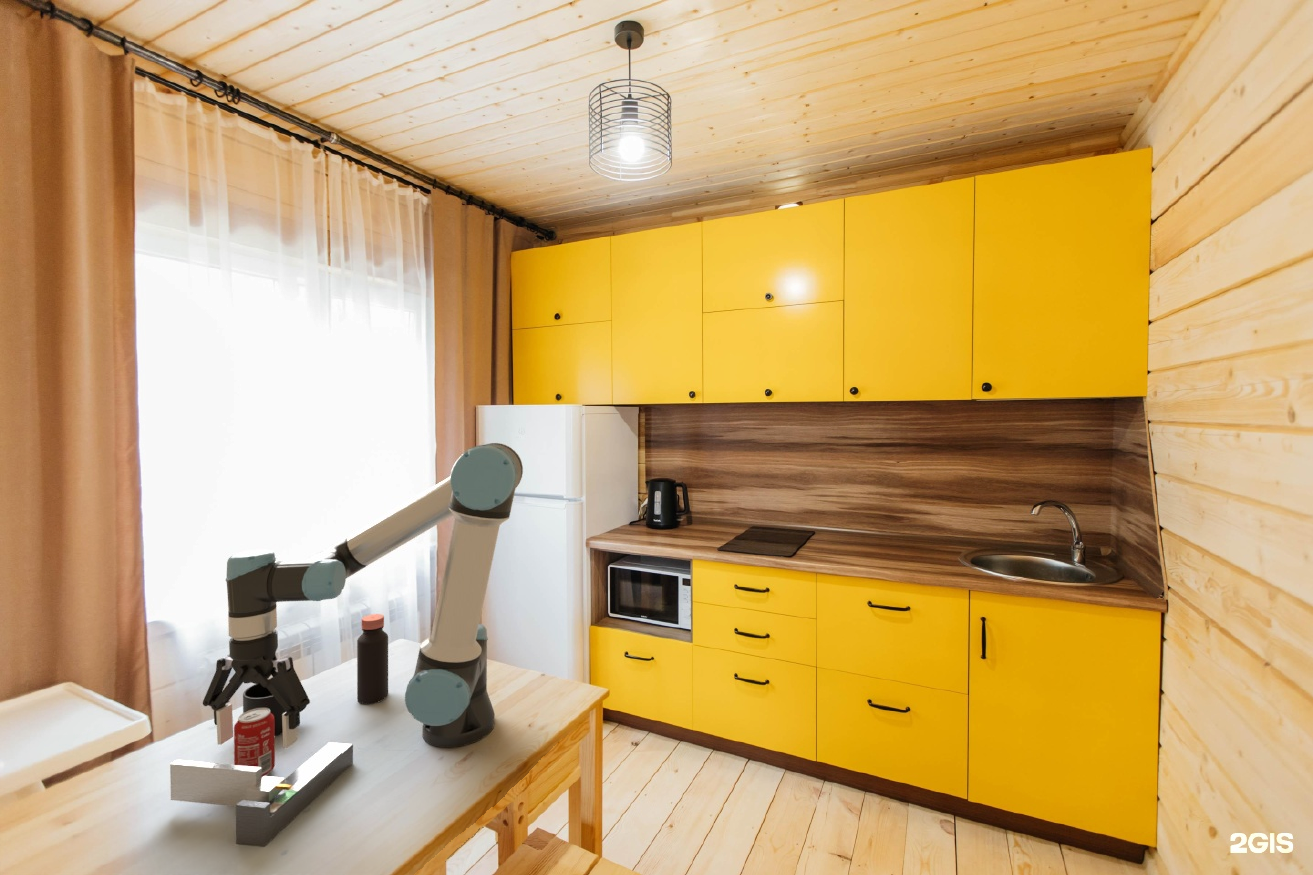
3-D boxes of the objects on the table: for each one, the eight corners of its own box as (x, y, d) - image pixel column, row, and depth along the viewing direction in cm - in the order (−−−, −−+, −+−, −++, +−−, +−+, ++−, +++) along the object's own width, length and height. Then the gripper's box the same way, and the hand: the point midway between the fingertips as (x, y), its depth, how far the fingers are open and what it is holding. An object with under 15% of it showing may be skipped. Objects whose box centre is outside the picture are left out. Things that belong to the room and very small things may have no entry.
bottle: (353, 697, 139) (353, 616, 138) (383, 688, 144) (383, 610, 143) (361, 707, 134) (361, 624, 133) (392, 698, 138) (392, 618, 138)
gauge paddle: (298, 801, 98) (297, 765, 98) (282, 816, 94) (281, 779, 94) (183, 790, 100) (183, 755, 100) (163, 804, 97) (163, 767, 96)
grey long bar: (352, 763, 113) (352, 732, 112) (264, 846, 91) (264, 807, 90) (329, 761, 113) (329, 730, 113) (236, 843, 91) (235, 804, 91)
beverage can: (268, 761, 113) (268, 702, 112) (279, 774, 109) (279, 713, 108) (230, 776, 108) (229, 715, 108) (240, 790, 104) (239, 726, 104)
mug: (304, 732, 123) (304, 691, 123) (238, 744, 118) (237, 702, 118) (311, 711, 132) (311, 673, 132) (249, 721, 127) (248, 682, 127)
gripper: (328, 627, 110) (331, 734, 111) (211, 623, 113) (216, 728, 113) (299, 643, 102) (303, 757, 103) (175, 638, 105) (180, 750, 106)
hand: (257, 742), depth 108 cm, fingers open, 13 cm apart
